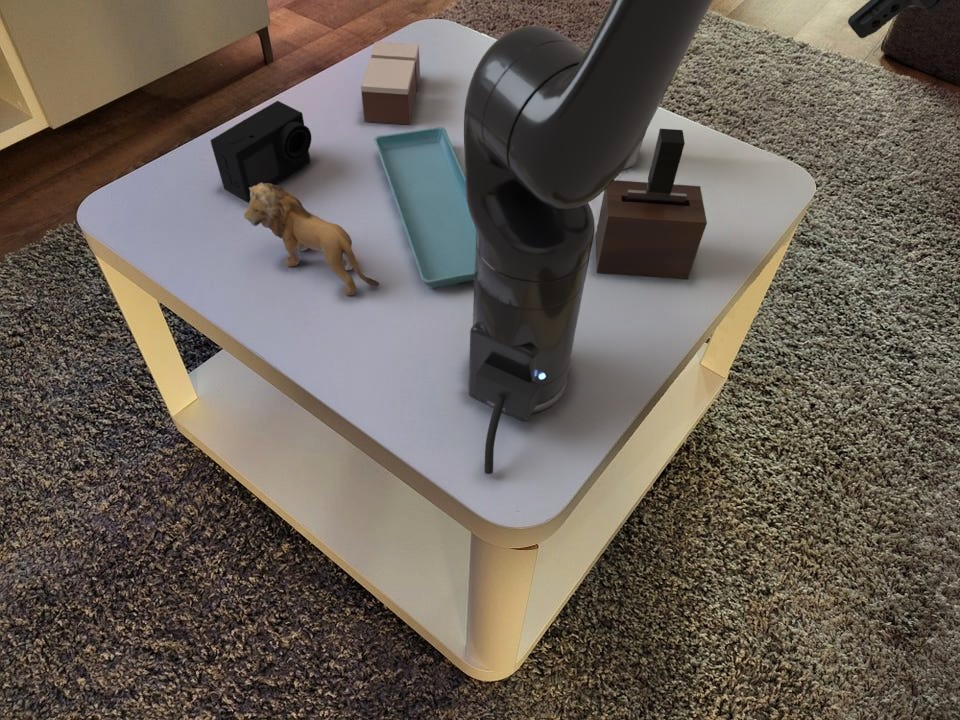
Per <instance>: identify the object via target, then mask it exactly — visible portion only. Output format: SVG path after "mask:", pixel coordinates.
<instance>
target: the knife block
mask: <svg viewBox="0 0 960 720" xmlns="http://www.w3.org/2000/svg"><path fill="white" fill-rule="evenodd" d="M647 182H648V181H647ZM647 182H646V181H631V180H617V179H614V180H613V182H612V183H611V184H610V185H609V186H608V187H607V188H606V189H605V190H604V191H603V195H602V200H601V206H600V210H599V216H598V220H597V226H596V232H595V235H594V236H595V262H596V263H595V267H596V273H598V274H609V275H612V274H613V275H622V276H623V275H624V276H638V277H639V276H640V277H649V278H650V277H651V278H652V277H653V278H664V279H665V278H667V279H679V280H689V277H690V274H691V271H692V268H693V267H694V264H695V260H696V257H697V253H698V250H699V248H700V245H701V242H702V239H703V236H704V233H705V230H706V226H707V224H708V222H707V215H706V210H705V205H704V199H703V193H702V189H701V186H700V185H688V184H675V183H674V184H673V188H672V191H671V193H683V194H687V197H686V200H685V204H684V206H679V205H665V204H651V203H637V202H626V197H627V193H628V190H640V191H646V184H647Z"/></svg>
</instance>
